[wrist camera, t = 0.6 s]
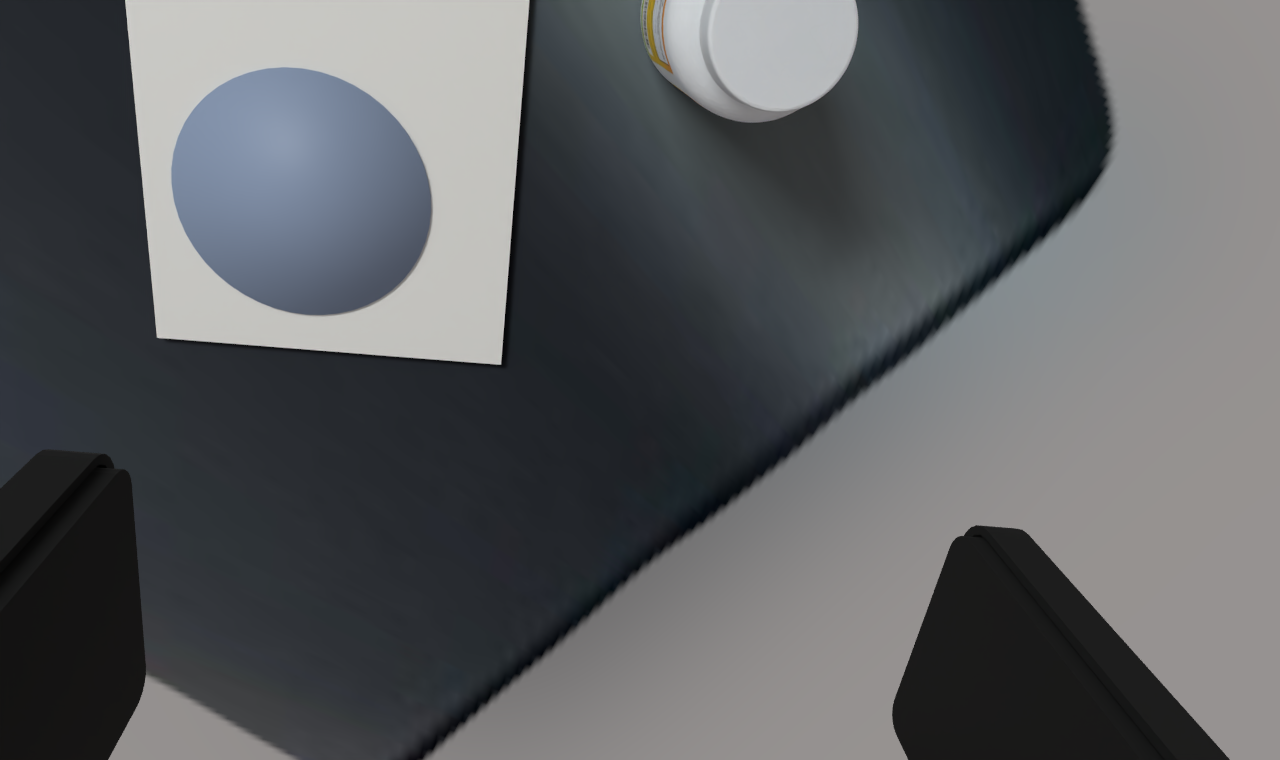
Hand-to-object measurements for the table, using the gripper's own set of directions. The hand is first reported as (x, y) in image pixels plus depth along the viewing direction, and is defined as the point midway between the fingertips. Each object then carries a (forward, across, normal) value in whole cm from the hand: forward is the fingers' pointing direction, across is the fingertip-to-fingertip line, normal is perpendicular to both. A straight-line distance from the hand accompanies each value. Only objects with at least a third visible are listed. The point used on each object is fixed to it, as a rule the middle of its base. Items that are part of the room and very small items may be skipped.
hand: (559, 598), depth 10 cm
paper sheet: (+25, +7, -1) cm, 26 cm away
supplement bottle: (+25, -5, -6) cm, 27 cm away
